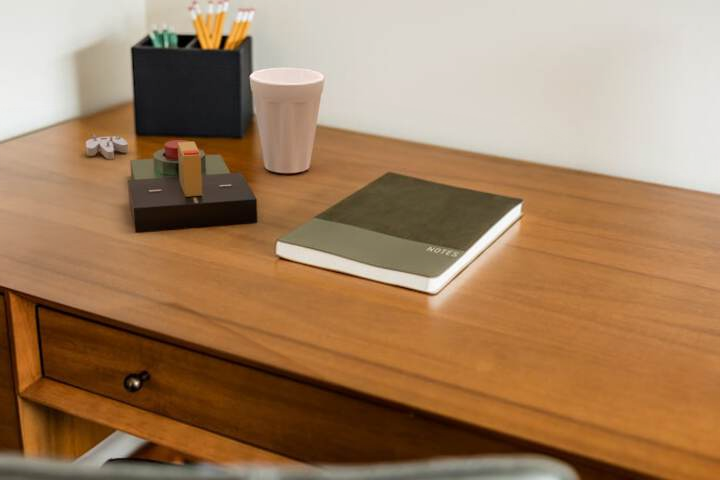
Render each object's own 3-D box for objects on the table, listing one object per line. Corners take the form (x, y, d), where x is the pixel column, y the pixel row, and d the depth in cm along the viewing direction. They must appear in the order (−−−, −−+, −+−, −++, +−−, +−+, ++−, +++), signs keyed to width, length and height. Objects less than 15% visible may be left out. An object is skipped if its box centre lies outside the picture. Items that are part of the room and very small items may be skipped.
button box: (136, 198, 112) (134, 167, 111) (131, 175, 120) (129, 146, 119) (232, 191, 116) (231, 161, 114) (220, 169, 124) (219, 141, 122)
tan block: (179, 181, 109) (177, 140, 107) (196, 180, 110) (194, 139, 108) (185, 197, 105) (183, 153, 102) (202, 195, 105) (200, 152, 103)
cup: (287, 185, 118) (287, 87, 113) (235, 168, 124) (233, 74, 119) (338, 169, 126) (340, 76, 120) (287, 153, 131) (287, 64, 126)
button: (166, 162, 115) (166, 148, 114) (163, 153, 118) (163, 140, 117) (195, 160, 116) (194, 147, 115) (191, 152, 119) (190, 139, 118)
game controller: (98, 162, 125) (96, 144, 124) (57, 144, 132) (55, 127, 131) (134, 154, 129) (132, 136, 128) (92, 137, 136) (90, 120, 135)
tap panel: (135, 232, 102) (133, 206, 101) (129, 202, 111) (127, 178, 110) (257, 222, 106) (256, 197, 105) (241, 194, 115) (241, 170, 114)
